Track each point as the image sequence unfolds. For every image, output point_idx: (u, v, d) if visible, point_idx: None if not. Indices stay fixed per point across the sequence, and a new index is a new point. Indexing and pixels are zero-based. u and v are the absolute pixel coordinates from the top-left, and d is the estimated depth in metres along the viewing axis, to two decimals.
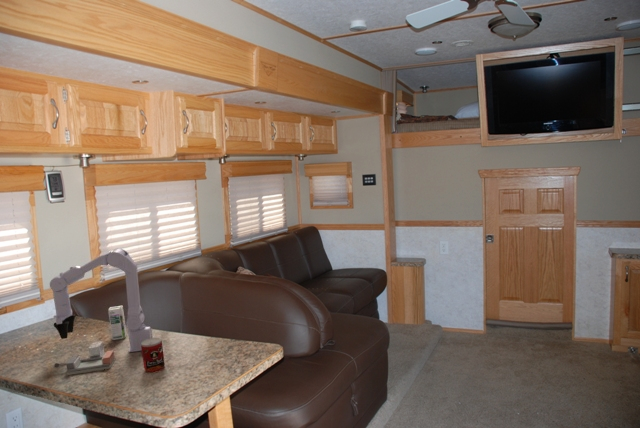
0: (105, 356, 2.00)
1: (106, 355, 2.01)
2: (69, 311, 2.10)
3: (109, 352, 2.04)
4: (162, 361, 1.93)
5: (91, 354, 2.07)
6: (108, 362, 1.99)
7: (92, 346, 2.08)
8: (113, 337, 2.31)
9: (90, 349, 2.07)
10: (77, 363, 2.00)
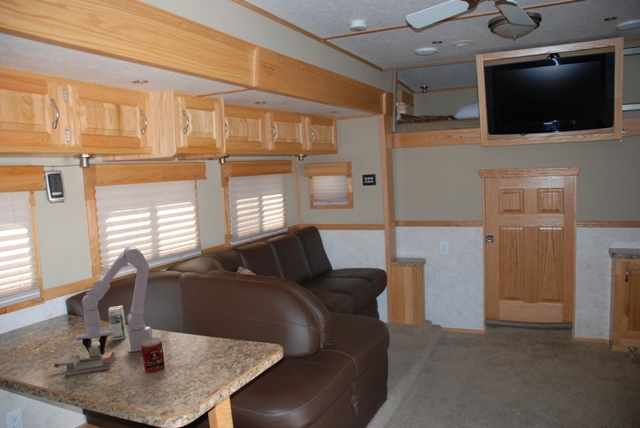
0: (105, 356, 2.00)
1: (106, 355, 2.01)
2: (89, 333, 2.07)
3: (109, 352, 2.04)
4: (162, 361, 1.93)
5: (91, 354, 2.07)
6: (108, 362, 1.99)
7: (92, 346, 2.08)
8: (113, 337, 2.31)
9: (90, 349, 2.07)
10: (77, 363, 2.00)
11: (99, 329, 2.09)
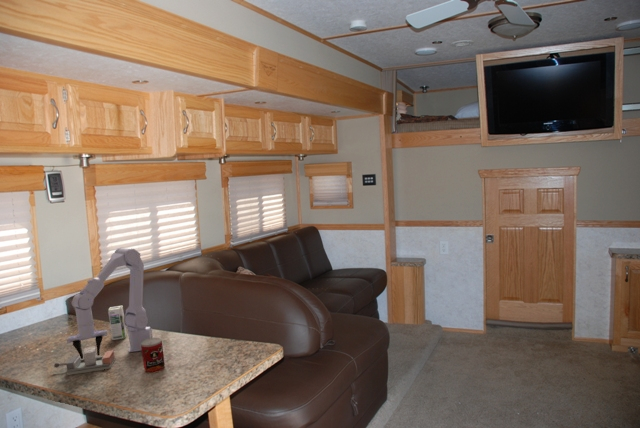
0: (105, 356, 2.00)
1: (106, 355, 2.01)
2: (83, 333, 1.97)
3: (109, 352, 2.04)
4: (162, 361, 1.93)
5: (86, 360, 1.98)
6: (108, 362, 1.99)
7: (86, 352, 1.99)
8: (113, 337, 2.31)
9: (85, 355, 1.97)
10: (77, 363, 2.00)
11: (93, 329, 2.00)
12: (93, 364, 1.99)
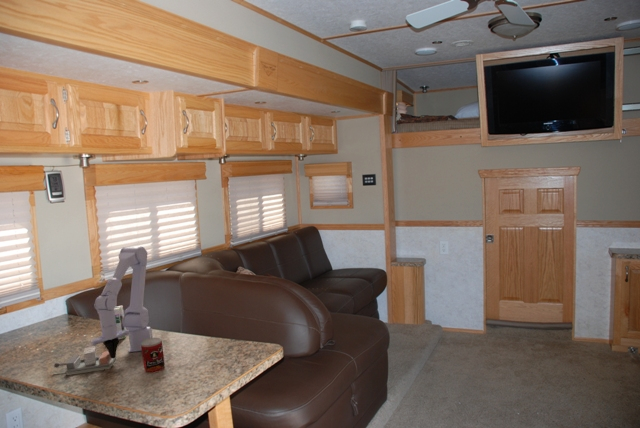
0: (102, 356, 2.00)
1: (103, 355, 2.01)
2: (109, 334, 1.99)
3: (106, 352, 2.04)
4: (162, 361, 1.93)
5: (86, 360, 1.98)
6: (105, 362, 1.99)
7: (86, 352, 1.99)
8: None
9: (85, 355, 1.97)
10: (77, 363, 2.00)
11: (116, 329, 2.02)
12: (93, 364, 1.99)
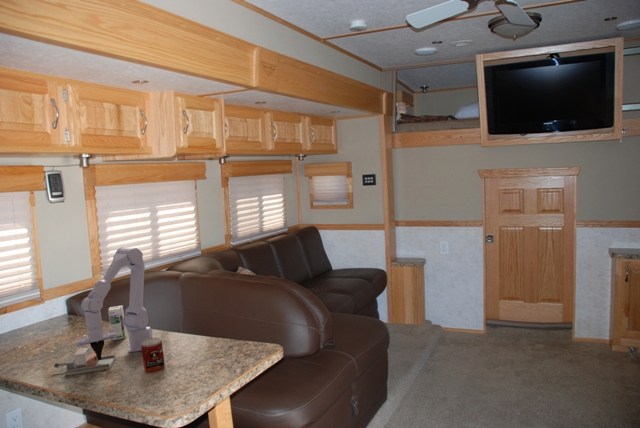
0: (89, 358, 1.99)
1: (90, 357, 2.00)
2: (93, 337, 1.98)
3: (93, 354, 2.03)
4: (162, 361, 1.93)
5: (76, 361, 1.98)
6: (92, 364, 1.98)
7: (78, 353, 1.99)
8: None
9: (75, 356, 1.97)
10: None
11: (102, 332, 2.01)
12: (83, 365, 1.98)
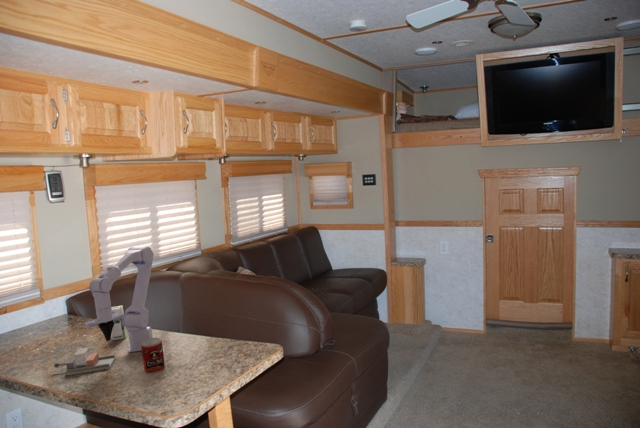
0: (89, 358, 1.99)
1: (90, 357, 2.00)
2: (103, 317, 1.98)
3: (93, 354, 2.03)
4: (162, 361, 1.93)
5: (76, 361, 1.98)
6: (92, 364, 1.98)
7: (78, 353, 1.99)
8: (113, 337, 2.31)
9: (75, 356, 1.97)
10: None
11: (111, 312, 2.01)
12: (83, 365, 1.98)
